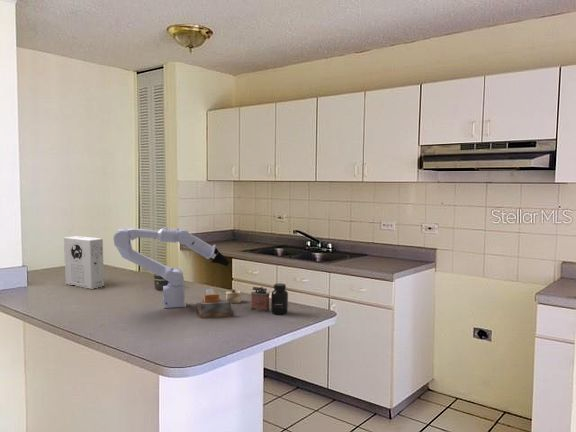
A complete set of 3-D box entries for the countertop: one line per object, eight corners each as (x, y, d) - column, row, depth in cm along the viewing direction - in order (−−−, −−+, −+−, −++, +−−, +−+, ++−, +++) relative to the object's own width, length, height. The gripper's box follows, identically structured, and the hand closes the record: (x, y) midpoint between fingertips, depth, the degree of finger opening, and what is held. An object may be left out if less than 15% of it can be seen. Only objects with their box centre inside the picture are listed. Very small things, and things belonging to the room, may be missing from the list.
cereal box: (104, 287, 251) (102, 238, 249) (91, 289, 245) (89, 240, 243) (78, 282, 263) (76, 235, 261) (65, 284, 256) (63, 237, 254)
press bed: (199, 317, 195) (199, 304, 195) (195, 300, 224) (194, 288, 223) (232, 315, 198) (232, 302, 198) (223, 298, 227) (223, 286, 227)
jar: (150, 289, 244) (149, 274, 244) (162, 285, 254) (161, 271, 253) (166, 291, 241) (166, 276, 240) (178, 287, 250) (178, 272, 249)
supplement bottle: (275, 316, 198) (275, 286, 197) (268, 312, 204) (268, 283, 203) (290, 314, 201) (290, 285, 200) (283, 310, 207) (283, 282, 206)
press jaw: (205, 303, 212) (205, 295, 212) (202, 296, 224) (202, 289, 223) (219, 302, 213) (218, 294, 213) (216, 295, 225) (216, 288, 225)
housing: (227, 303, 218) (227, 291, 217) (226, 301, 222) (226, 289, 221) (240, 302, 219) (240, 290, 219) (239, 300, 223) (239, 288, 223)
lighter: (270, 310, 207) (270, 286, 206) (267, 312, 204) (267, 288, 203) (253, 308, 209) (252, 285, 209) (249, 310, 206) (249, 287, 205)
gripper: (207, 241, 208) (234, 257, 212) (204, 237, 222) (229, 252, 226) (198, 255, 208) (225, 271, 211) (196, 250, 222) (221, 265, 225)
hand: (227, 262), depth 219 cm, fingers open, 7 cm apart
